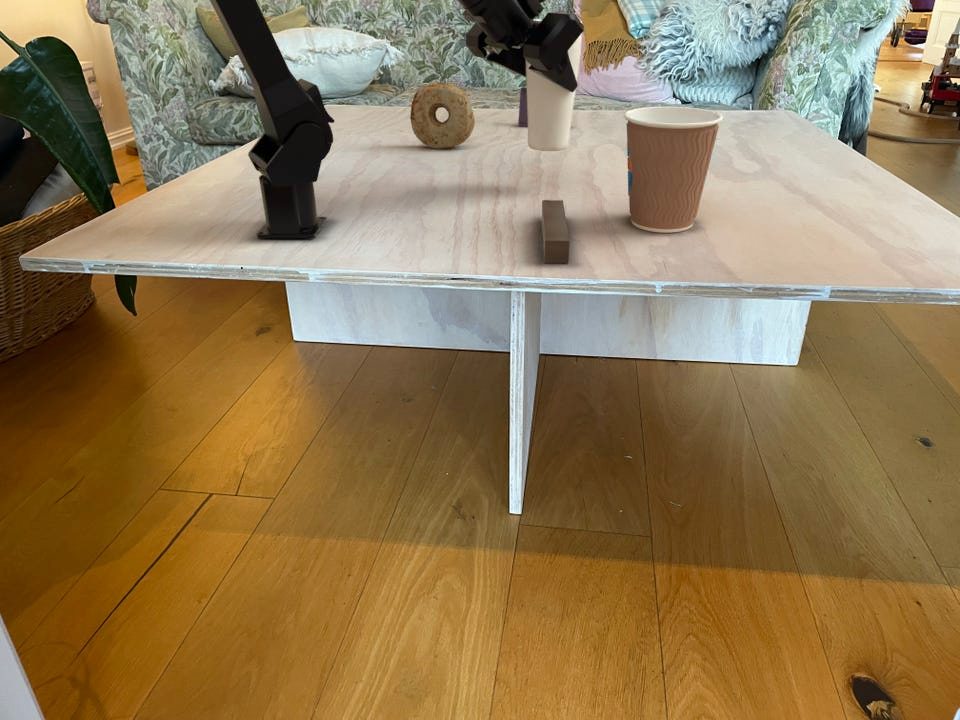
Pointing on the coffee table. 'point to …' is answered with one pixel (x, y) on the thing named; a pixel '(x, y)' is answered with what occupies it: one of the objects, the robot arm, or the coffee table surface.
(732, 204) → the coffee table surface
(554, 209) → the baton
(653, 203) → the coffee cup
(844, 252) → the coffee table surface
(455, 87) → the bagel
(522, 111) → the purple printed box
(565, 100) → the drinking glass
